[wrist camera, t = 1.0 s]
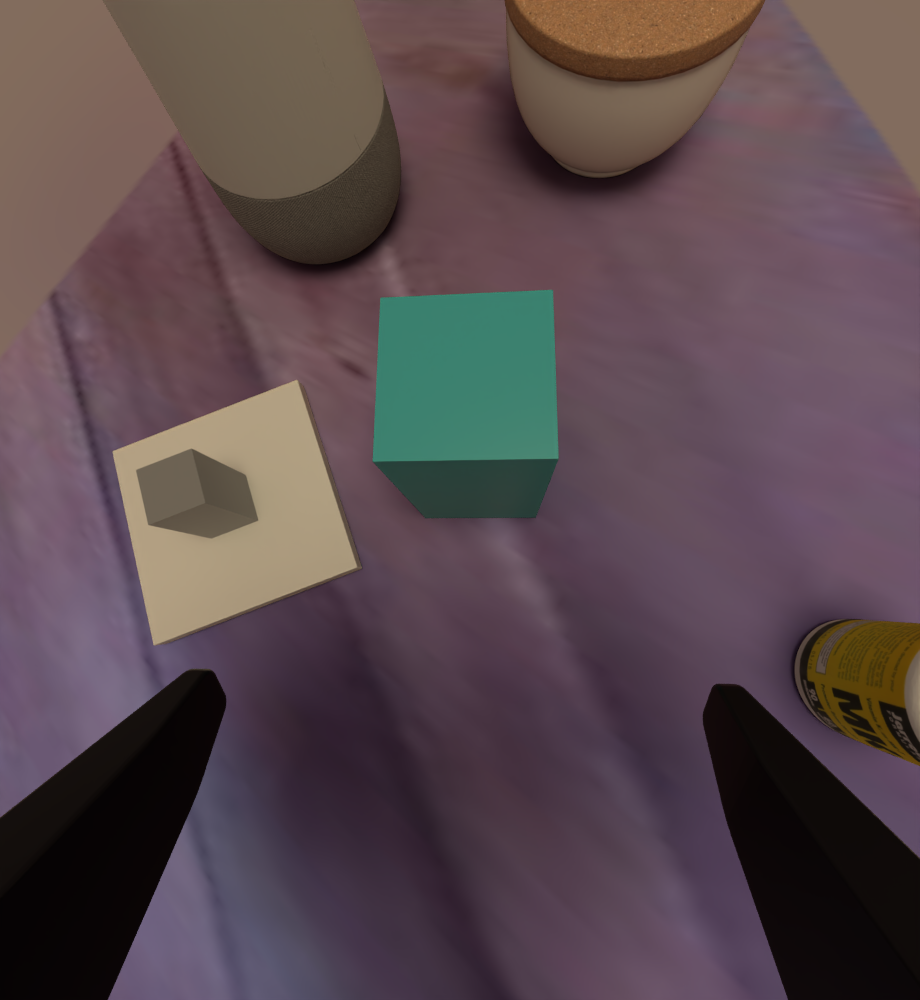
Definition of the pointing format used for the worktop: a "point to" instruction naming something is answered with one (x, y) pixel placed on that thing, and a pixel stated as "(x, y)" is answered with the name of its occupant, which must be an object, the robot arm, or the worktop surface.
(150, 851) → the robot arm
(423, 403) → the teal square pillar
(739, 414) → the worktop surface
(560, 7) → the lidded jar
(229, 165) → the smart speaker
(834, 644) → the supplement bottle
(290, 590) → the post block
